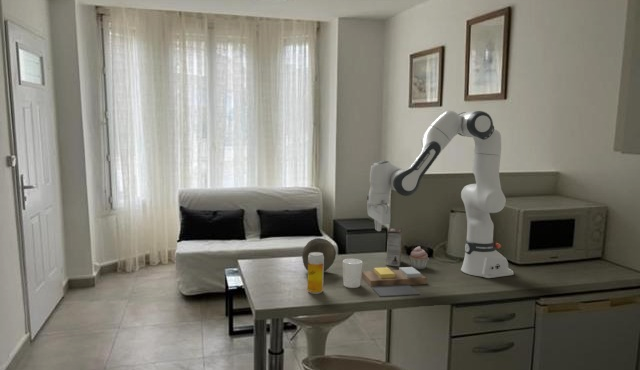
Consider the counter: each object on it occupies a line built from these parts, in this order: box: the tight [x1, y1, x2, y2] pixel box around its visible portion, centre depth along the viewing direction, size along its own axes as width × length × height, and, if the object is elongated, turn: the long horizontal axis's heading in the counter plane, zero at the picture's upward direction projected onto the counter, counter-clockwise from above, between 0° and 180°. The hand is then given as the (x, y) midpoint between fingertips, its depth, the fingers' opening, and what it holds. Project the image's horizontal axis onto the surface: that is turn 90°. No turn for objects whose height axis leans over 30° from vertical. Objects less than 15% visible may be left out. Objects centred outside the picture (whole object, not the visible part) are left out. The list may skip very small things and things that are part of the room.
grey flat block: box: [398, 266, 422, 278], centre depth 200 cm, size 6×9×2 cm, turn 12°
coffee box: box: [385, 227, 403, 267], centre depth 223 cm, size 9×6×16 cm
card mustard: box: [373, 266, 395, 278], centre depth 198 cm, size 6×9×2 cm, turn 12°
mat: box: [370, 284, 421, 298], centre depth 186 cm, size 16×11×1 cm
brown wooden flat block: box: [361, 269, 428, 288], centre depth 199 cm, size 24×12×2 cm, turn 102°
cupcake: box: [408, 245, 430, 270], centre depth 217 cm, size 9×9×10 cm
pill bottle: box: [307, 252, 325, 295], centre depth 183 cm, size 6×6×15 cm
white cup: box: [342, 258, 363, 289], centre depth 191 cm, size 8×8×10 cm
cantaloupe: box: [301, 237, 337, 272], centre depth 206 cm, size 14×14×15 cm
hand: (378, 230), depth 206 cm, fingers closed
